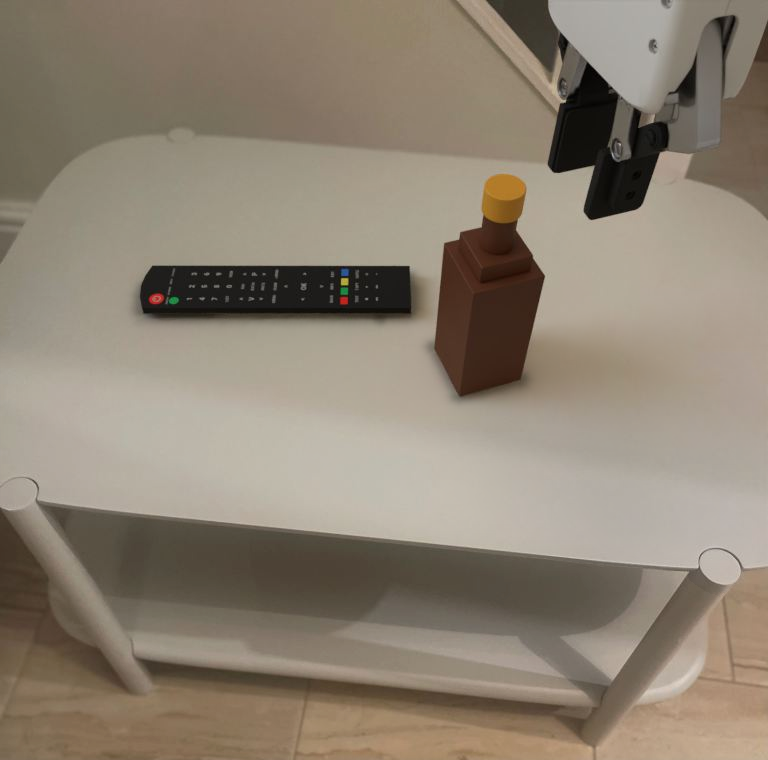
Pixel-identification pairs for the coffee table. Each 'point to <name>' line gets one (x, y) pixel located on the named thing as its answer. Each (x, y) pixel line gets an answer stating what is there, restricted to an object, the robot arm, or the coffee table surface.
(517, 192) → the bottle
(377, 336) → the coffee table surface
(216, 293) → the remote control
